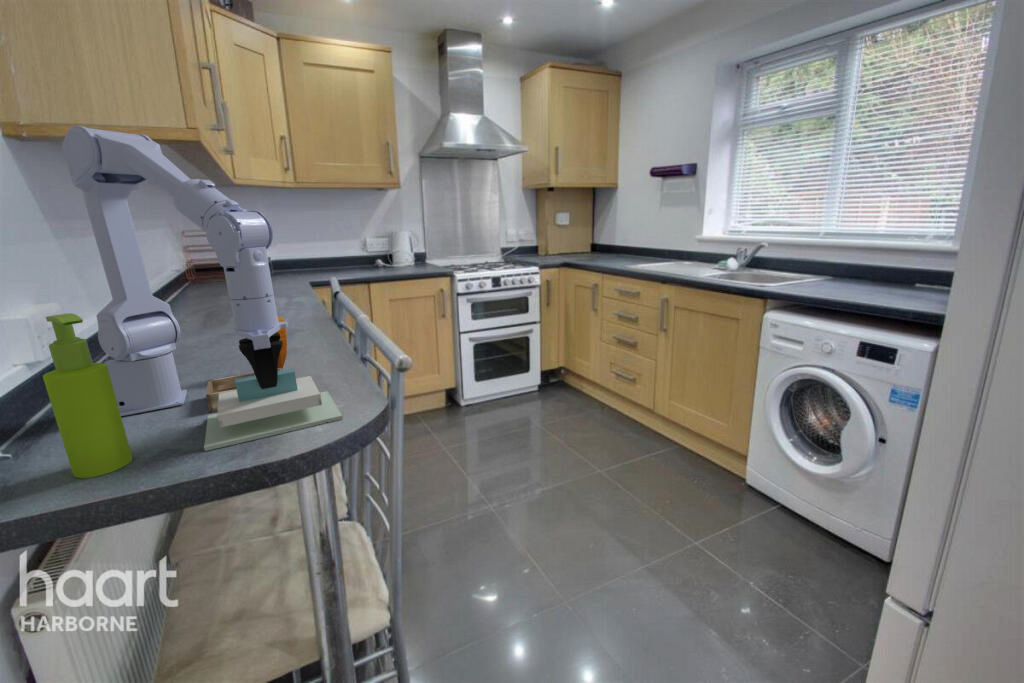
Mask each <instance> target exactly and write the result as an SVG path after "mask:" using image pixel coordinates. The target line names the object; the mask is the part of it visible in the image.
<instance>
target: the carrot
mask: <svg viewBox="0 0 1024 683" xmlns="http://www.w3.org/2000/svg"><path fill="white" fill-rule="evenodd" d="M275 304H276V305H277V303H276V301H275ZM277 316H278V321H279V322H284V321H285V319H284V318H283V317H282V316H280V315H277ZM276 333H279V334H280V340H279V341H281V340H282V342H283V345H282V348H281V351H280V354H279V359H278V368H282V369H284V365H285V363H286V358H287V352H288V351H287V350H288V335H287V328H282V329H280V330H279V331H277V332H276Z"/></svg>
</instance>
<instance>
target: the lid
mask: <svg viewBox="0 0 1024 683" xmlns="http://www.w3.org/2000/svg"><path fill="white" fill-rule="evenodd" d="M235 385H236V389H237V390H235V391H229V392H224V393H219V400H218V411H216V414H217V417H218V421H219V425H220V427H225V426H229V425H234V424H238V423H243V422H247V421H252V420H256V419H261V418H265V417H270V416H274V415H279V414H283V413H288V412H292V411H297V410H301V409H306V408H310V407H315V406H319V405H322V402H321V396H320V391H319V389H318V387H317V386H316V383H315V381H314V380H313V378H312V376H311V375H308V376H302V377H298V378H297V377H296V374H295V370H294V367H292V368H291V367H290V368H286V369H283V370H279V371H278V379H277V386H276V387H272V388H266V389H261V387H260V385H259V383H258V381H257V378H256V376H255V375H252V376H246V377H241V378H235Z"/></svg>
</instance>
